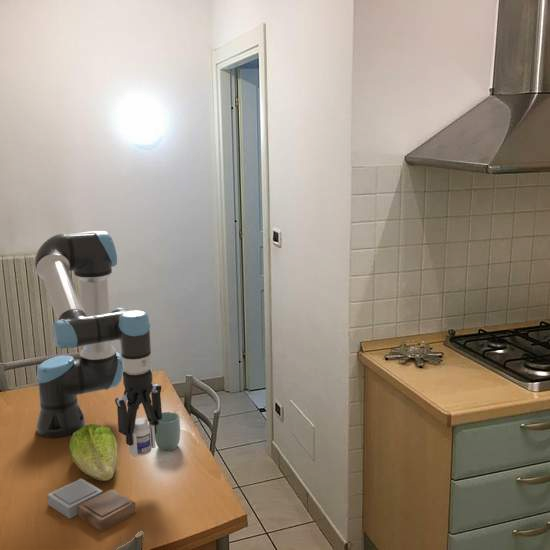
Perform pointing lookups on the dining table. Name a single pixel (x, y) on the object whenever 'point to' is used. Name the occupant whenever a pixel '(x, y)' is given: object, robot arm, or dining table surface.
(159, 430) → the cup
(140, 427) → the pill bottle
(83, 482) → the stand
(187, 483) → the dining table surface
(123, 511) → the stand
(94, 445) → the lettuce
